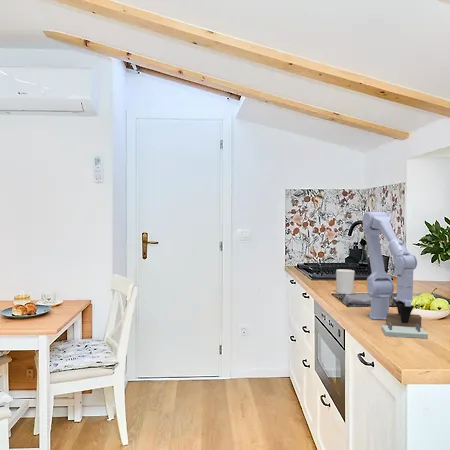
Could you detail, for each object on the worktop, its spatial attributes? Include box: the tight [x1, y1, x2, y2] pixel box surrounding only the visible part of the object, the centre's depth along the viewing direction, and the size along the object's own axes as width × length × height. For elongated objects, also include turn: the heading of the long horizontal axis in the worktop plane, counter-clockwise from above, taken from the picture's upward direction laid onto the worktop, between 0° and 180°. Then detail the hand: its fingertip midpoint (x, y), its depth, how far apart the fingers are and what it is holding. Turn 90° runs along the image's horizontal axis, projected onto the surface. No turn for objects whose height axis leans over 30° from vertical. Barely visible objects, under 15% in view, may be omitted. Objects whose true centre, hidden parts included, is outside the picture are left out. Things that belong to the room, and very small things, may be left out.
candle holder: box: [335, 268, 356, 295], centre depth 257 cm, size 10×10×12 cm
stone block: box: [343, 292, 371, 305], centre depth 231 cm, size 12×5×10 cm
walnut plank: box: [385, 312, 422, 328], centre depth 184 cm, size 4×12×4 cm, turn 80°
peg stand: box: [381, 322, 429, 339], centre depth 173 cm, size 10×14×4 cm
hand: (403, 321), depth 184 cm, fingers closed on walnut plank, 4 cm apart
